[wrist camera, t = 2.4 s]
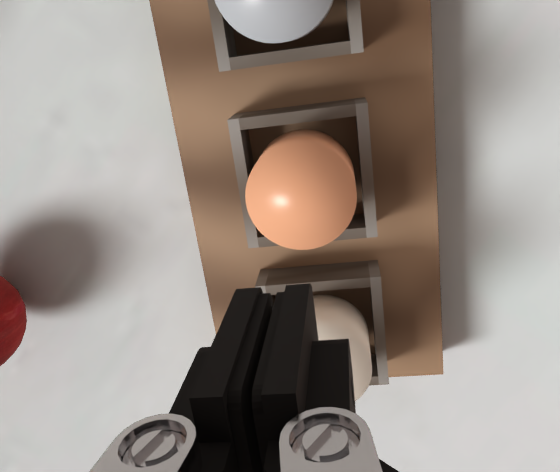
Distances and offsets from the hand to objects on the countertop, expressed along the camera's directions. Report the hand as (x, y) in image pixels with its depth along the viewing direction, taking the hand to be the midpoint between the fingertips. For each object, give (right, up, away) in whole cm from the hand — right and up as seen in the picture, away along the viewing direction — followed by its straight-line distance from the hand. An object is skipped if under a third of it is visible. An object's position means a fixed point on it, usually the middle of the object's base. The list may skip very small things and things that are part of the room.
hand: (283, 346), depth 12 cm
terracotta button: (+1, +5, +12) cm, 13 cm away
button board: (+1, +6, +15) cm, 17 cm away
